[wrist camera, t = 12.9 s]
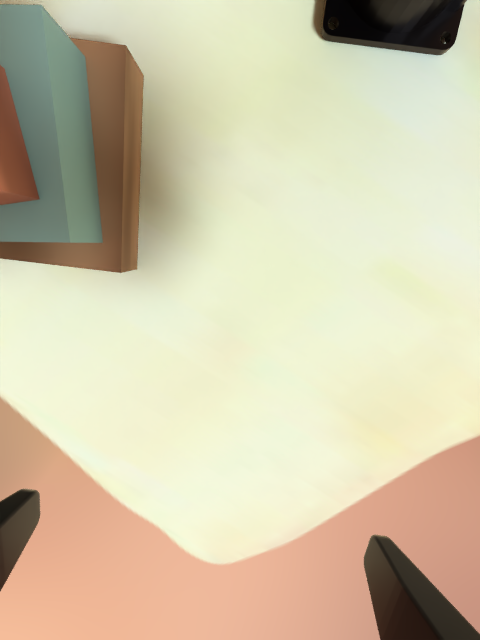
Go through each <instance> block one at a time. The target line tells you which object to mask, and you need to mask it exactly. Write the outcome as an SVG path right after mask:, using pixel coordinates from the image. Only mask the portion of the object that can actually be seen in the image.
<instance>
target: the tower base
mask: <svg viewBox="0 0 480 640" xmlns="http://www.w3.org/2000/svg"><path fill="white" fill-rule="evenodd" d="M70 39H71V41H72V42H73V43H74V44H75V45H76V46H77V48H78V49H79V50H80V51H81V52H82V54H83V55H84V56H85V60H86V70H87V81H88V91H89V102H90V112H91V123H92V133H93V144H94V154H95V165H96V175H97V186H98V196H99V207H100V217H101V228H102V239H103V243H64V242H0V258H2V259H10V260H18V261H27V262H35V263H44V264H52V265H60V266H69V267H77V268H86V269H94V270H102V271H111V272H119V273H122V272H126V271H131V270H135V269H137V253H138V223H139V194H140V165H141V136H142V106H143V77H144V75H143V74H142V72H141V70H140V69H139V67H138V65H137V63H136V62H135V60H134V58H133V57H132V55H131V53H130V52H129V50H128V48H127V46H126V45H118V44H111V43H103V42H96V41H88V40H81V39H73V38H70Z"/></svg>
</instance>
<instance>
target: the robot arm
mask: <svg viewBox="0 0 480 640" xmlns="http://www.w3.org/2000/svg"><path fill="white" fill-rule="evenodd" d="M466 1H467V0H325V3H324V10H323V17H322V23H321V34H322V37H323V38H324V39H325V40H327V41H332V42H339V43H347V44H355V45H363V46H370V47H378V48H386V49H394V50H402V51H409V52H417V53H425V54H433V55H442V54H444V53H446V52H447V51H448V50H449V49H450V48H451V47H452V46H453V44H454V43H455V40H456V37H457V32H458V28H459V24H460V20H461V16H462V12H463V7H464V3H465V2H466ZM329 23H333V24H335V26H336V29H334V30H332V29H330V28H329V27H328V24H329ZM440 37H443V38H444V39H445V40H446V44H443V43H441V41H440ZM39 518H40V495H39V492H38V491H37V490H31V489H21V490H19V491H17V492H15V493H14V494H12V495H10V496H9V497H7V498H5V499H4V500H2V501H0V591H1V589H2V587H3V585H4V584H5V582H6V580H7V579H8V577H9V575H10V573H11V571H12V569H13V568H14V566H15V564H16V562H17V560H18V558H19V557H20V555H21V553H22V551H23V549H24V548H25V546H26V544H27V542H28V540H29V538H30V537H31V535H32V533H33V531H34V529H35V528H36V526H37V524H38V521H39ZM364 568H365V572H366V577H367V581H368V586H369V590H370V595H371V599H372V604H373V609H374V613H375V618H376V622H377V626H378V631H379V635H380V639H381V640H480V634H479V633H478V632H477V631H476V630H475V629H474V627H473V626H472V625H471V624H470V623H469V622H468V621H467V620H466V619H465V618H464V617H463V616H462V615H461V614H460V613H459V611H458V610H457V609H456V608H455V607H454V606H453V605H452V604H451V603H450V602H449V601H448V600H447V599H446V598H445V597H444V596H443V594H442V593H441V592H439V590H438V589H437V588H436V587H435V586H434V585H433V584H432V583H431V582H430V581H429V580H428V578H427V577H426V576H425V575H424V574H423V573H422V572H421V571H420V570H419V569H418V568H417V567H416V566H415V565H414V564H413V563H412V561H411V560H410V559H409V558H408V557H407V556H406V555H405V554H404V553H403V552H402V551H401V550H400V549H399V548H398V547H397V545H396V544H395V543H394V542H393V541H392V540H391V539H390V538H388V537H386V536H380V535H373V536H371V538H370V541H369V544H368V547H367V550H366V553H365V556H364Z"/></svg>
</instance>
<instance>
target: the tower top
mask: <svg viewBox="0 0 480 640" xmlns="http://www.w3.org/2000/svg"><path fill="white" fill-rule="evenodd" d="M0 65H1V66H2V67H3V68H5V72H6V76H7V79H8V83H9V87H10V90H11V94H12V98H13V102H14V105H15V109H16V113H17V116H18V120H19V124H20V128H21V131H22V135H23V139H24V143H25V146H26V150H27V154H28V157H29V161H30V165H31V169H32V172H33V176H34V180H35V184H36V187H37V191H38V195H39V198H40V199H39V200H32V201H25V202H19V203H12V204H5V205H0V242H64V243H103V239H102V228H101V217H100V207H99V196H98V186H97V175H96V165H95V154H94V144H93V133H92V123H91V112H90V102H89V91H88V81H87V70H86V60H85V56H84V55H83V54H82V52H81V51H80V50H79V49H78V48H77V46H76V45H75V44H74V43H73V42H72V41H71V39H70V38H69V37H68V36H67V35H66V33H65V32H64V31H63V30H62V29H61V28H60V26H59V25H58V24H57V23H56V22H55V20H54V19H53V18H52V17H51V16H50V15H49V13H48V12H47V11H46V10H45V9H44V7H43V6H42V5H10V4H0Z"/></svg>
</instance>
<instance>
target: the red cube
mask: <svg viewBox="0 0 480 640" xmlns="http://www.w3.org/2000/svg"><path fill="white" fill-rule="evenodd" d="M39 199H40V198H39V195H38V191H37V187H36V184H35V180H34V176H33V172H32V169H31V165H30V161H29V157H28V154H27V150H26V146H25V143H24V139H23V135H22V131H21V128H20V124H19V120H18V116H17V113H16V109H15V105H14V102H13V98H12V94H11V90H10V87H9V83H8V79H7V76H6V72H5V68H3V67H2V66H1V65H0V205H5V204H12V203H19V202H25V201H32V200H39Z"/></svg>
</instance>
